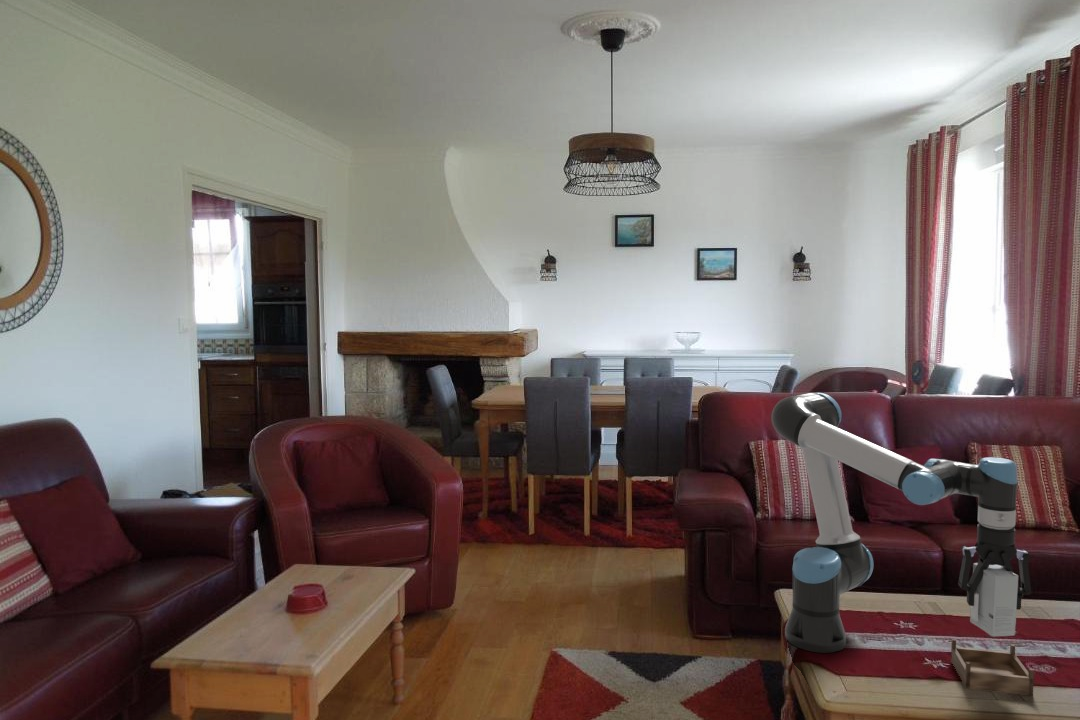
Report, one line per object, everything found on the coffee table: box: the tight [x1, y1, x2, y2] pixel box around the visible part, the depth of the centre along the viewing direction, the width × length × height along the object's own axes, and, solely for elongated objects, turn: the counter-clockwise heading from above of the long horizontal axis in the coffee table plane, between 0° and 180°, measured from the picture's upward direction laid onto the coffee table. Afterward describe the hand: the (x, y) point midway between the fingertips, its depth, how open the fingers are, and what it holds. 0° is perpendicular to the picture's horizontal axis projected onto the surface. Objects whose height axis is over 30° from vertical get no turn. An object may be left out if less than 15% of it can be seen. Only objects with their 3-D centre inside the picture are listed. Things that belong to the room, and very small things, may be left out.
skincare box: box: [969, 562, 1019, 638], centre depth 172 cm, size 8×6×15 cm
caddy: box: [950, 638, 1035, 697], centre depth 174 cm, size 14×13×6 cm
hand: (992, 620), depth 173 cm, fingers closed on skincare box, 7 cm apart
